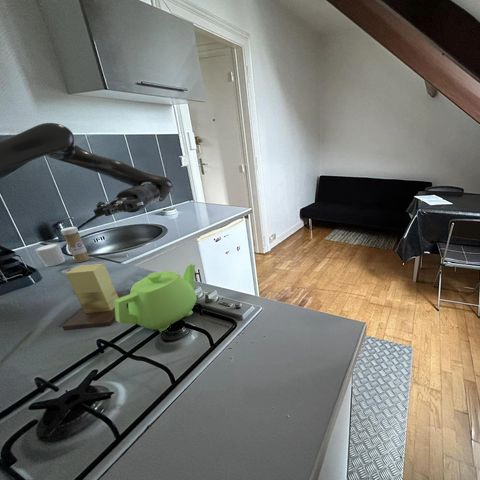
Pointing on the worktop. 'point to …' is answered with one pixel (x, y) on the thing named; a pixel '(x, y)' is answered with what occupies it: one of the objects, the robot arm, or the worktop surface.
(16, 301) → the worktop surface
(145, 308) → the teapot
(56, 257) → the white squat cylinder
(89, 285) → the block
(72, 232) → the sprinkles bottle
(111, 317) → the butter board
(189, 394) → the worktop surface
